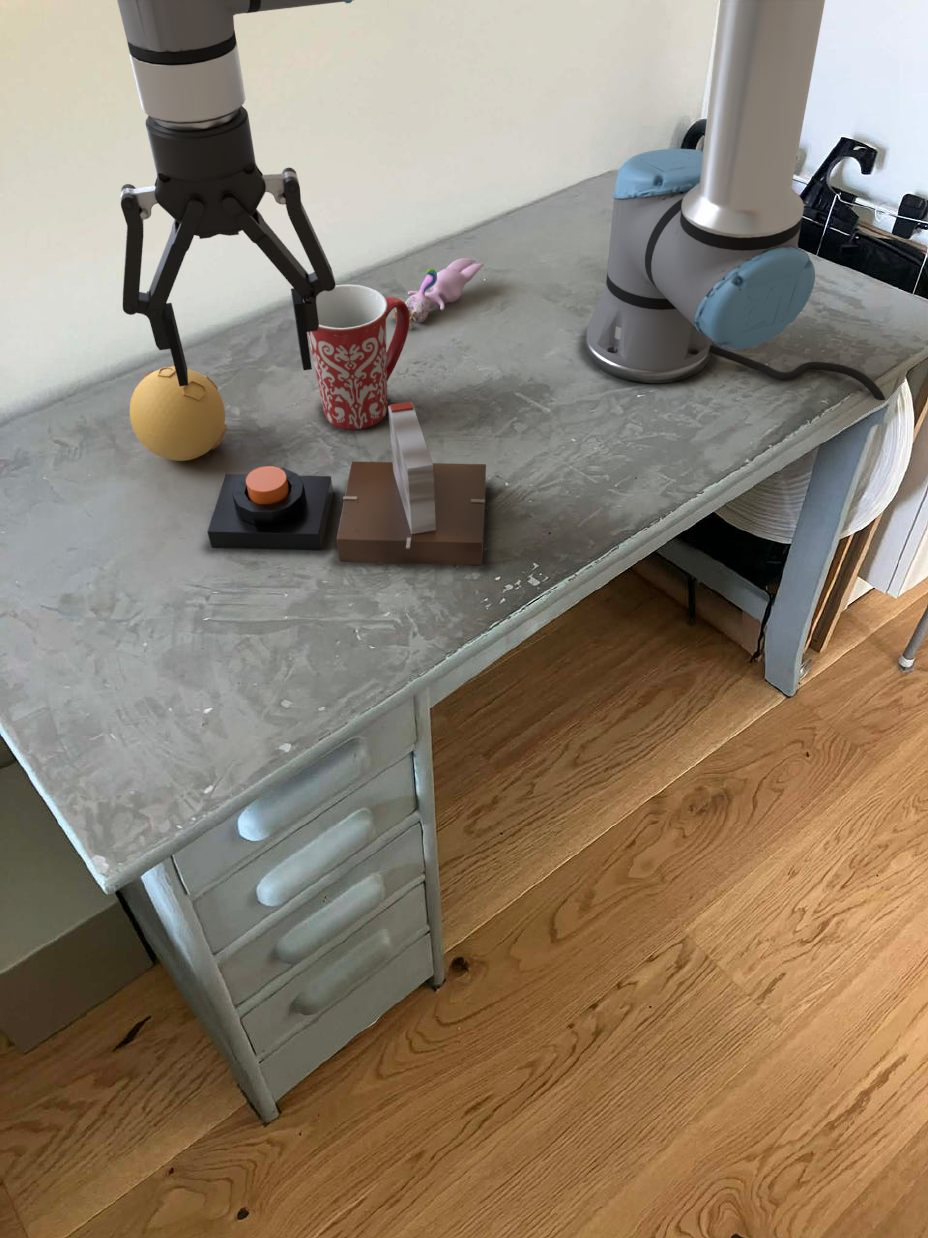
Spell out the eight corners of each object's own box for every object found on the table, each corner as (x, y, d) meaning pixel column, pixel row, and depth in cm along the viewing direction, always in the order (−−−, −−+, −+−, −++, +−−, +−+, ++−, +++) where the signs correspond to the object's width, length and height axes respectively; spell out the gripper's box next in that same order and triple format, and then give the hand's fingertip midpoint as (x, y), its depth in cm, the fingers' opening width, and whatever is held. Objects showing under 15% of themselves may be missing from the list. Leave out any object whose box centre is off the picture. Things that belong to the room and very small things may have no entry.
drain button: (291, 479, 103) (289, 466, 102) (285, 505, 100) (282, 491, 99) (252, 479, 103) (249, 465, 102) (245, 504, 100) (242, 491, 99)
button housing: (333, 492, 107) (329, 462, 104) (321, 550, 101) (316, 520, 98) (229, 490, 108) (222, 459, 105) (211, 548, 102) (203, 517, 99)
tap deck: (487, 479, 108) (487, 456, 106) (482, 573, 99) (482, 549, 96) (354, 477, 109) (351, 453, 107) (336, 569, 99) (333, 545, 97)
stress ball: (215, 484, 108) (196, 405, 101) (127, 474, 110) (102, 396, 102) (244, 428, 115) (229, 350, 108) (162, 419, 116) (141, 342, 109)
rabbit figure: (422, 343, 129) (498, 280, 135) (414, 304, 124) (493, 240, 130) (386, 326, 132) (462, 265, 138) (378, 287, 127) (457, 226, 133)
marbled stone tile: (436, 530, 98) (433, 462, 92) (411, 534, 98) (407, 466, 92) (415, 467, 105) (412, 400, 99) (393, 470, 105) (387, 403, 99)
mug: (346, 446, 113) (333, 337, 103) (300, 409, 117) (284, 302, 108) (435, 402, 118) (431, 296, 108) (388, 369, 123) (381, 264, 113)
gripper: (341, 78, 79) (364, 331, 95) (38, 104, 76) (115, 362, 92) (355, 114, 74) (377, 376, 90) (32, 145, 71) (114, 410, 87)
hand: (245, 369), depth 91 cm, fingers open, 10 cm apart
